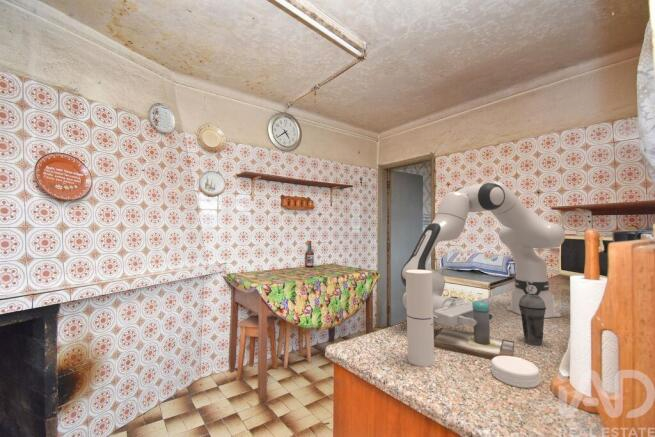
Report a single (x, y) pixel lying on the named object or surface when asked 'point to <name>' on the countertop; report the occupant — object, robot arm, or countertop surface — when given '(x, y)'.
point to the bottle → (481, 322)
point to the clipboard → (472, 344)
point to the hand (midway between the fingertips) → (484, 319)
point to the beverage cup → (532, 317)
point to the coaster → (515, 371)
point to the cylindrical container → (420, 317)
